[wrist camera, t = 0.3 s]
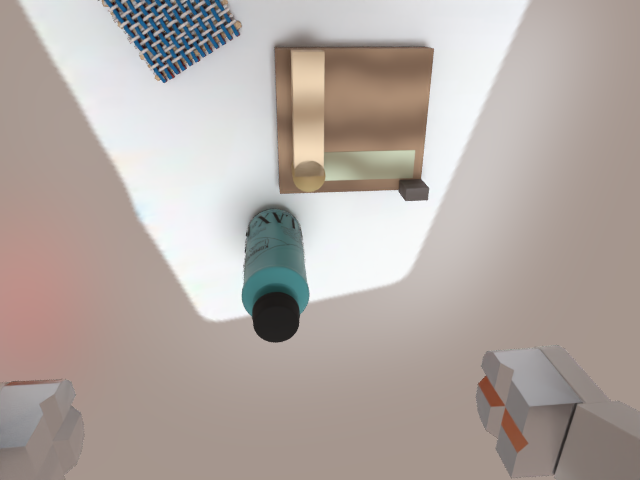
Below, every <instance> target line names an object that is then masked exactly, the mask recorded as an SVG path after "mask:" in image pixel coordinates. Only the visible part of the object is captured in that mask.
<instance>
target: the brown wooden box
mask: <svg viewBox="0 0 640 480" xmlns="http://www.w3.org/2000/svg"><path fill="white" fill-rule="evenodd" d="M291 49H321V50H323V51H324V52H325V64H324V170H325V175H326V177H325V181H324V184H323V185H322V186H321V187H320V188H319V189H318V190H316V191H313V192H305V191H302V190H300V189H299V188H297V187H296V185H295V184H294V181H293V176H292V170H291V165H292V162H293V139H292V92H291ZM433 54H434V49H433V48H429V47H275V72H276V101H277V130H278V159H279V187H280V194H287V193H318V192H348V191H379V190H399V191H398V192H399V193H400V194H401V196H402V197H403V198H404V200H405V201H419V200H428V193H429V187H428V186H427V185H426V184H425V183H424V182H423V181H422V180H421V174H422V164H423V154H424V144H425V134H426V124H427V114H428V104H429V94H430V84H431V74H432V64H433Z"/></svg>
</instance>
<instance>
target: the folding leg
mask: <svg viewBox="0 0 640 480" xmlns="http://www.w3.org/2000/svg"><path fill="white" fill-rule="evenodd" d="M324 64H325V52H324V51H323V50H321V49H291V92H292V139H293V162H292V165H291V170H292V176H293V181H294V184H295V185H296V187H297V188H299V189H300V190H302V191H305V192H313V191H316V190H318V189H319V188H320V187H321V186H322V185H323V184H324V181H325V177H326V175H325V170H324Z"/></svg>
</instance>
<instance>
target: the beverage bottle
mask: <svg viewBox="0 0 640 480" xmlns="http://www.w3.org/2000/svg"><path fill="white" fill-rule="evenodd" d="M253 218H254V219H253V220H252V221H251V223H250V222H249V223H250V225H249V224H248V225H249V227H248V233H246V236H247V238H246V239H247V243H246V242H245V244H246V247H245V253H246V258H245V263H244V262H243V263H244V264H245V268H244V270H243V271H244V274H243V273H242V274H243V275H244V284H243V289H242V302H243V305H244V307H245V309H246V311H247V312H248V313H249V314H250V315H251V316H252V319H253V326H254V329H255V331H256V333H257V335H258V336H259V337H261V338H262V339H264V340H266V341H269V342H283V341H285V340H288V339H290V338H291V337H292V336H293V335H294V334H295V333H296V331H297V329H298V327H299V318H300V314H301V313H302V312H303V311H304V309H305V308H306V306H307V304H308V301H309V287H308V284H307V278H306V271H305V264H304V263H305V262H304V257H305V256H304V253H303V252H304V251H303V248H304V247H303V246H302V245H303V244H304V243H303V242H302V241H303V239H301V238H302V237H303V236H302V232H300V231H301V228H300V227H299V224H298V222H297V221H296V219H295V218H294V217H293V216H292V214H289V213H288V212H286V211H284V210H280V209H269V210H265V211H263V212H260V213H259V214H258V215H257V216H255V217H253ZM302 243H303V244H302ZM305 260H306V259H305Z"/></svg>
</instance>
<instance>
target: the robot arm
mask: <svg viewBox="0 0 640 480" xmlns="http://www.w3.org/2000/svg"><path fill="white" fill-rule="evenodd" d="M481 367H482V369H483V371H484V372H485V374H486V376H485V377H484V378H483V379H482V380H481V381H480V382H479V383H478V387H477V394H476V401H477V409H478V413H479V416H480V419H481V422H482V423H483V426H484V428H485V430H486V431H487V432H489V433H490V434H492V435H493V436H495V437H496V438H497V439H498V440H497V445H496V451H497V453H498V454H499V456H500V458H501V460H502V462H503V464H504V466H505V468H506V469H507V471H508V473H509V475H510V477H511V478H518V477H519V478H520V477H536V476H549V475H555V476H554V478H555V479H556V480H640V411H638V410H636V409H634V408H632V407H630V406H628V405H626V404H624V403H622V402H620V401H611V400H610V399H609V398H608V397H607V396H606V395H605V394H604V392H603V391H602V390H601V389H600V388H599V387H598V386H597V385H596V383H595V382H594V381H593V380H592V379H591V378H590V377H589V376H588V375H587V373H586V372H585V371H584V370H583V369H582V368H581V367H580V366H579V365H578V363H577V362H576V361H575V360H574V359H573V358H572V357H571V355H570V354H569V353H568V352H567V351H566V350H565V349H564V348H562V347H560V346H559V345H553V346H542V347H534V348H524V349H510V350H496V351H487V352H486V354H485V355H484V357H483V361H482V365H481ZM75 396H76V394H75V391H74V388H73V385H72V382H70V381H69V380H66V379H59V380H37V381H13V382H2V383H0V480H65V476H64V475H65V474H66V473H67V472H68V471H70V470H71V469H72V468H73V467H74V466H75V465H76V464H77V462H78V459H79V457H80V454H81V451H82V447H83V440H84V423H83V419H82V415H81V412H79V411H78V410H77V409H75V408H74V407H73V406H71V404H72V402H73V400H74V398H75Z"/></svg>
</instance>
